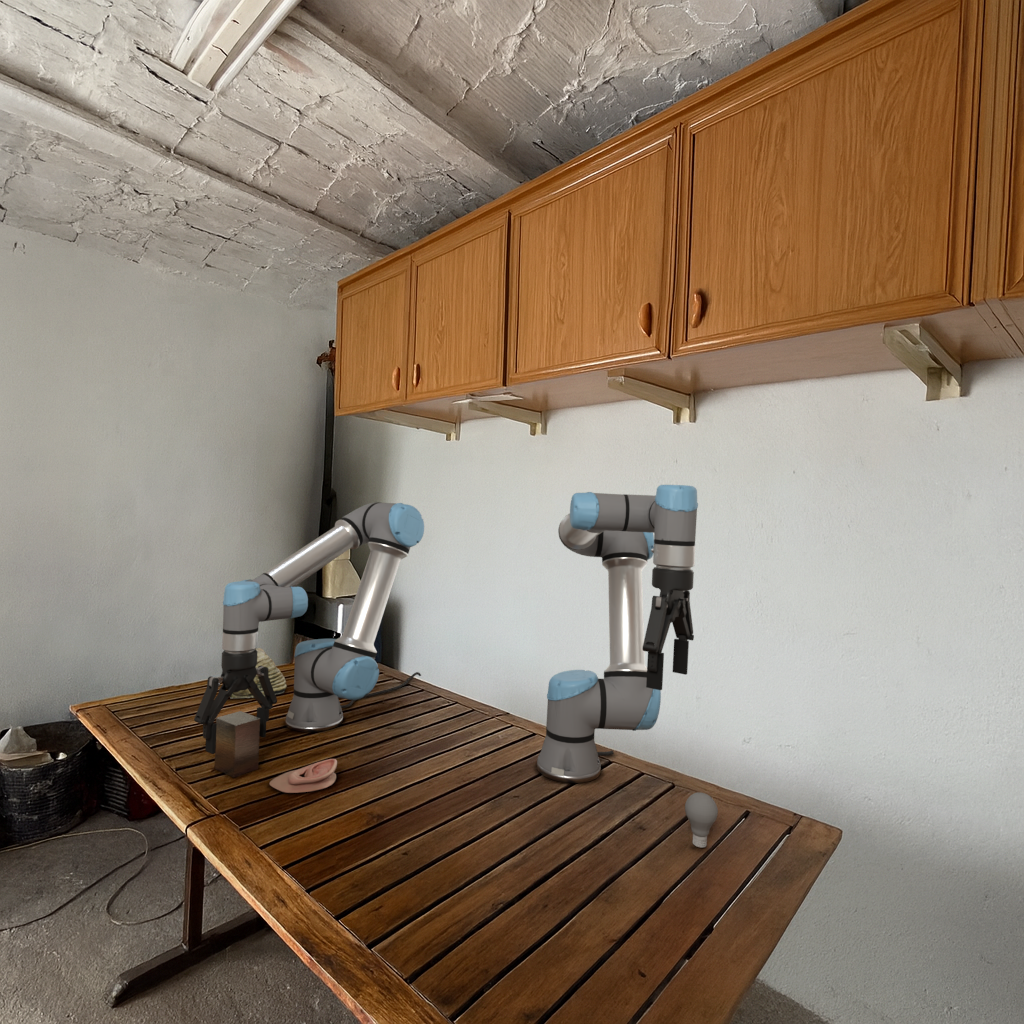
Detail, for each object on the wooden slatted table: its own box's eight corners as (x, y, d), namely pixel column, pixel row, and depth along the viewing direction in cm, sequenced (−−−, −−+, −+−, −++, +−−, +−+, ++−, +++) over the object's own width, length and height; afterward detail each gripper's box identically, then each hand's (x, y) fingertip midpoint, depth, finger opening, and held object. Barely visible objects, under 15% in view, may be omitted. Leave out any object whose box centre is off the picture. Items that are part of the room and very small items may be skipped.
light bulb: (678, 837, 123) (681, 786, 123) (708, 837, 124) (711, 787, 124) (689, 855, 117) (692, 801, 117) (721, 854, 118) (723, 801, 118)
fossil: (218, 695, 195) (220, 647, 195) (278, 685, 208) (279, 640, 207) (228, 703, 189) (230, 653, 188) (289, 692, 201) (290, 645, 201)
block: (238, 760, 150) (240, 710, 150) (258, 768, 146) (260, 718, 146) (214, 768, 145) (216, 717, 145) (233, 778, 141) (235, 725, 140)
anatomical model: (261, 770, 135) (291, 750, 147) (261, 789, 136) (290, 767, 147) (318, 779, 133) (344, 757, 144) (318, 797, 133) (343, 775, 144)
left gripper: (275, 638, 157) (272, 725, 157) (178, 656, 137) (175, 755, 137) (294, 643, 153) (291, 732, 153) (197, 662, 133) (194, 765, 133)
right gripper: (676, 561, 131) (671, 664, 131) (627, 569, 110) (621, 691, 110) (712, 565, 127) (707, 670, 127) (669, 574, 106) (663, 700, 106)
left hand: (236, 743), depth 145 cm, fingers open, 12 cm apart
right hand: (667, 680), depth 119 cm, fingers open, 13 cm apart
